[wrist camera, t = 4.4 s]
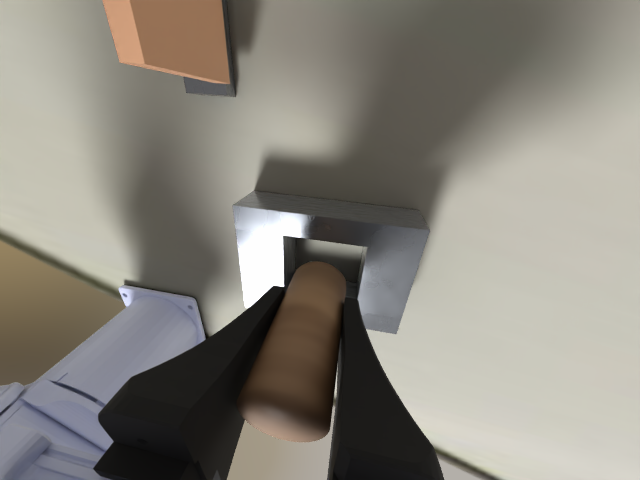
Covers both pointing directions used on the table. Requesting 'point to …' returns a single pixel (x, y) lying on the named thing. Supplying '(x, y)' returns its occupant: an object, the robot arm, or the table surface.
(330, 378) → the peg
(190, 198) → the table surface
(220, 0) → the tan flat block
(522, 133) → the table surface
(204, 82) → the base
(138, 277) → the table surface
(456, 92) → the table surface
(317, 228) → the block
